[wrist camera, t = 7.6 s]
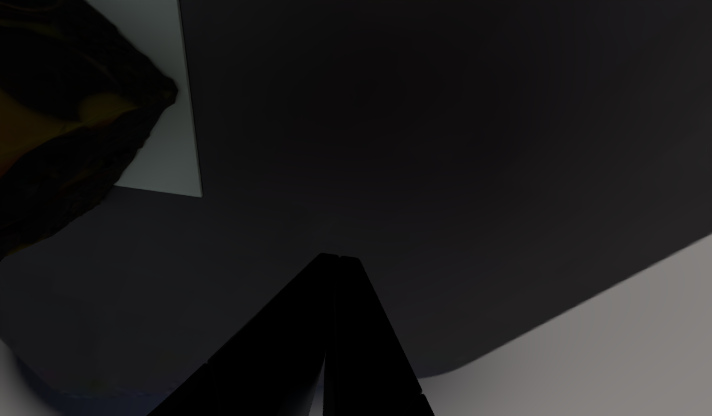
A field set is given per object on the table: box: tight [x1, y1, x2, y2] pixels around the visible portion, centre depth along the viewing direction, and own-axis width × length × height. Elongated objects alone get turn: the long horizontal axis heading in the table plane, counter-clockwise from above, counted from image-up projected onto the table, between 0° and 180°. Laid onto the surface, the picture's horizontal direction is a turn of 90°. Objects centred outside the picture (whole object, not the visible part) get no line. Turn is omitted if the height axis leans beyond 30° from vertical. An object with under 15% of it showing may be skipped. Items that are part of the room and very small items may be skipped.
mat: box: [84, 0, 203, 197], centre depth 18 cm, size 12×12×1 cm
